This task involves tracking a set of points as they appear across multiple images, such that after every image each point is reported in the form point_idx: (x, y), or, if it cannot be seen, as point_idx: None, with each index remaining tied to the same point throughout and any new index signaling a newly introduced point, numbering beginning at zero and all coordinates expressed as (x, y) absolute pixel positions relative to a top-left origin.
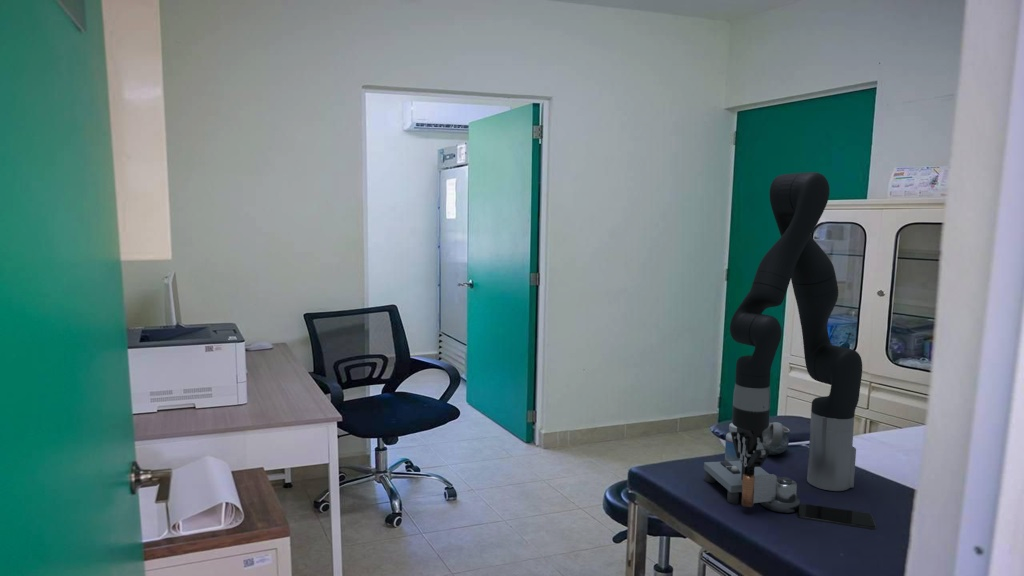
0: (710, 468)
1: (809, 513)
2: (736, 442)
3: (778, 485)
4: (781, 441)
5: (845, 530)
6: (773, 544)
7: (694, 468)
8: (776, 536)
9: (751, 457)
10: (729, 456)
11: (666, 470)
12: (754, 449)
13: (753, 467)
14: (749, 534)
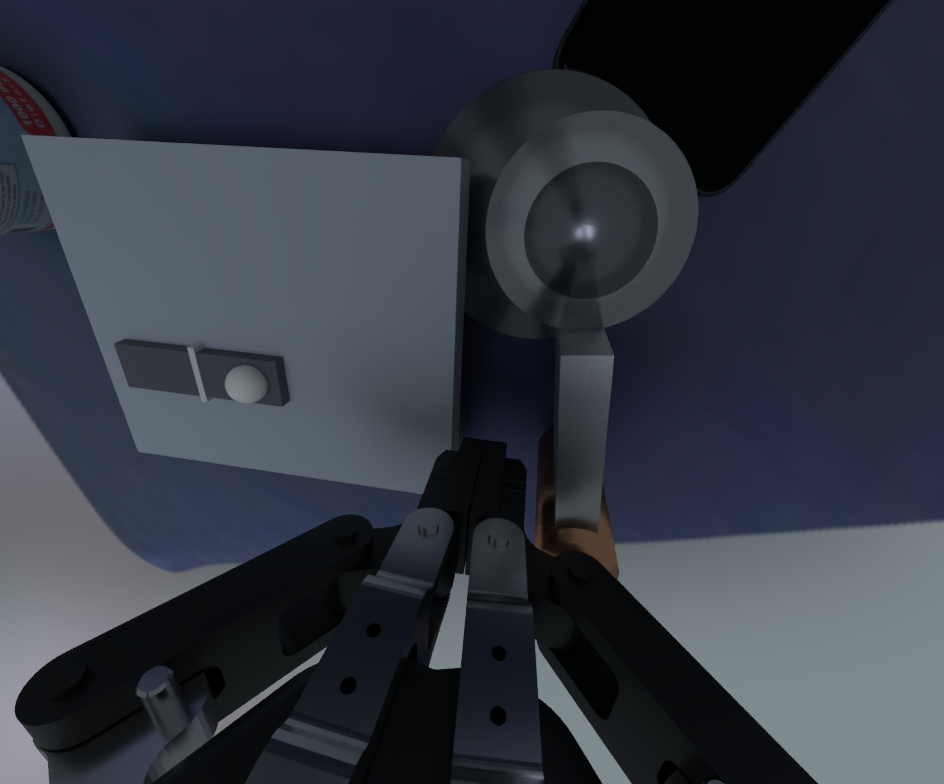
0: (215, 462)
1: (726, 94)
2: (244, 696)
3: (621, 320)
4: None
5: None
6: (875, 497)
7: (86, 377)
8: (824, 444)
9: (611, 742)
10: None
11: (136, 488)
12: None
13: (525, 545)
14: (747, 526)
